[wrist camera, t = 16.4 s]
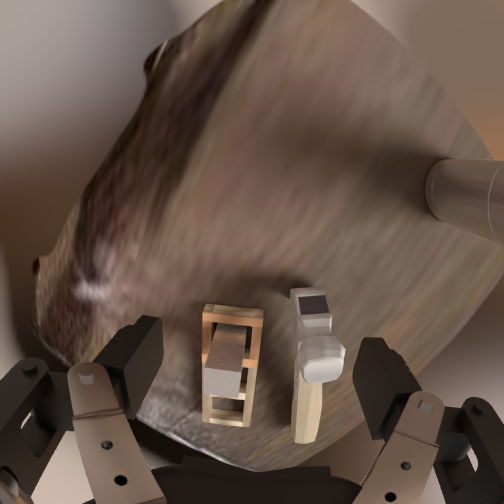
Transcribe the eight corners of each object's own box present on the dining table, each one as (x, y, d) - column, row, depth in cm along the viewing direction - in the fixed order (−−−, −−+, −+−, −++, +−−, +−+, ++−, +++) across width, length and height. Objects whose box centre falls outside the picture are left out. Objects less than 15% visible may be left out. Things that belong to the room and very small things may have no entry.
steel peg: (247, 320, 42) (241, 372, 31) (245, 343, 43) (238, 398, 32) (219, 317, 42) (204, 367, 31) (218, 340, 43) (203, 393, 32)
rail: (263, 309, 42) (263, 319, 39) (250, 417, 47) (249, 428, 45) (206, 303, 42) (202, 312, 39) (205, 411, 48) (202, 422, 45)
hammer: (321, 468, 39) (350, 354, 24) (292, 470, 39) (298, 359, 25) (313, 396, 52) (322, 263, 38) (288, 398, 53) (286, 265, 39)
